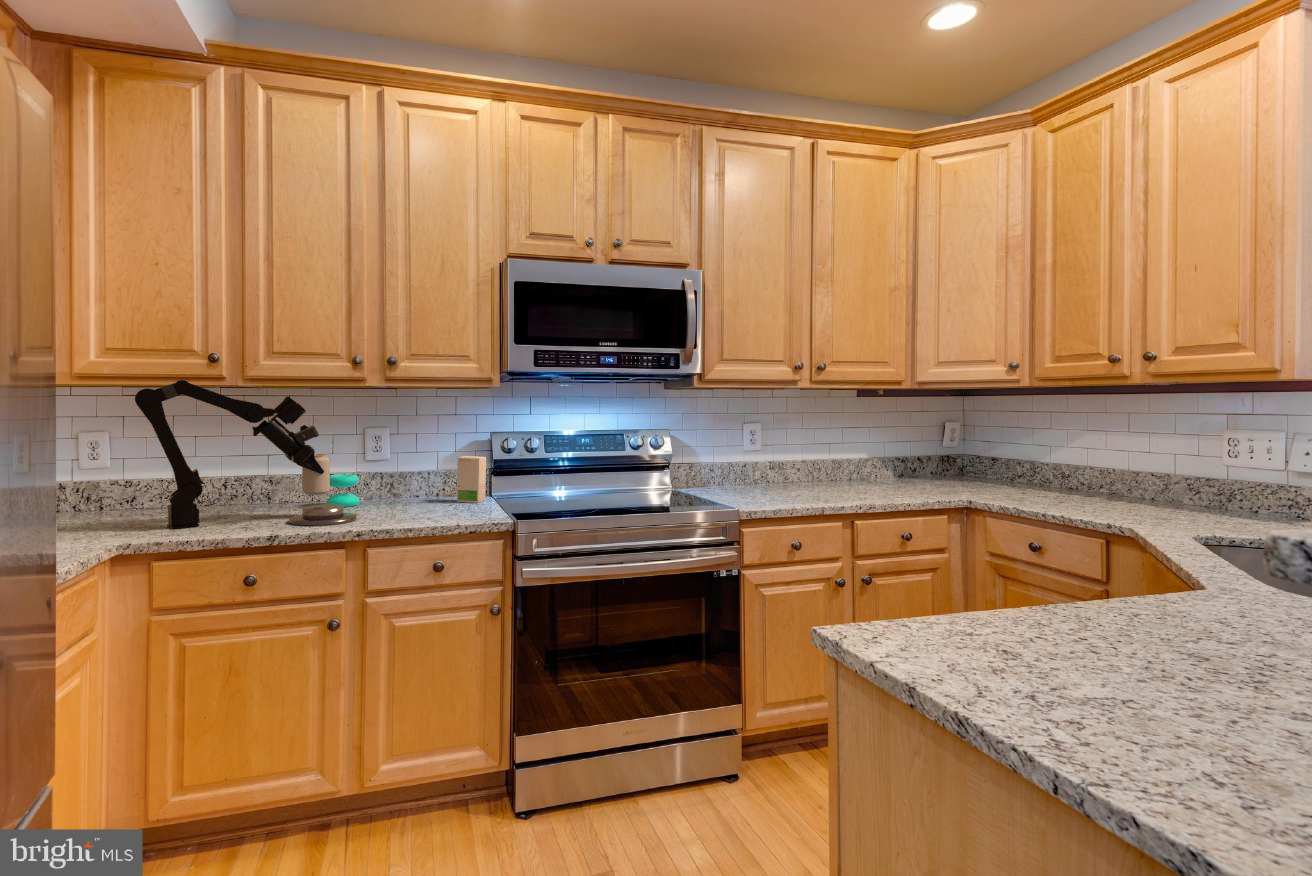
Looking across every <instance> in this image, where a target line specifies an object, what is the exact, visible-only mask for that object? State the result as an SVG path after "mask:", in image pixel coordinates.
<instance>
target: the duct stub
mask: <svg viewBox="0 0 1312 876" xmlns="http://www.w3.org/2000/svg"><path fill="white" fill-rule="evenodd" d="M344 508H345V507H343V505H338V504H327V503H324V504H312V505H307V506H303V507H302V508H301V510H302V511H301V512H302V513H301V514H299V515H295V516H291V517H289V519H288V524H289V525H292V526H296V527H298V526H299V527H322V526H323V527H326V526H337V525H343V524H348V523H352V522H355V521H356V520H357V514H355V513H351V512H345V511H344V510H345V509H344Z"/></svg>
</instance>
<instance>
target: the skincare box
mask: <svg viewBox="0 0 1312 876" xmlns="http://www.w3.org/2000/svg"><path fill="white" fill-rule="evenodd" d="M456 467H457V468H456V469H457V470H456V471H457V475H456V502H457V503H468V504H469V503H471V504H479V503H482V501H483V502H485V501H486V484H487V483H486V482H487V481H486V480H487V477H486V476H487V457H486V456H476V455H475V456H474V455H473V456H472V455H462V456H457V466H456Z"/></svg>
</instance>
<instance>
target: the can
mask: <svg viewBox="0 0 1312 876" xmlns="http://www.w3.org/2000/svg"><path fill="white" fill-rule="evenodd" d="M314 458H315V459H316V461H317V462H318V463H319V465H320V466H321V468H322V469H323V470H324V473H323V474H320V473H317V472H314V471H312V470H309V469H306V468H304V467H301V473H302V474H301V475H302V481H301V482H302V492H303V493H304V494H305V495H307V496H321V495H326V494H328V493H329V492H330V490H331V486H330V476H331V475H330V474H331V473H330V468H331V467H330V459H329V458H328V454H326V453H314Z"/></svg>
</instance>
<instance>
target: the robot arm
mask: <svg viewBox="0 0 1312 876" xmlns="http://www.w3.org/2000/svg"><path fill="white" fill-rule="evenodd" d="M181 395H183V396H187V397H189V398H192V399H193V400H194V399H195V400H198V401H201V402H203V403H206V404H209V405H211V406H214V407H217V408H220V409H223V410H226V411H227V412H230V413H231V414H233V415H235V416H237V417H239V418H240V419H243V420H244V421H246V422H249V424H251V423H252V424H256V423H259V424H258V425H257V426H252V427H251V429H252V436H254V437H258V435H259V434H261V435H263V436H264V437H265V438H266V439H267V440H268V441H270V443H272V444H273V445H274V446H275V447H276V448H278V450H280V451H281V452H282V453H283V454H284V457H285V458H286V459H288V460H289V461H290V462H292V463H294V464H296V465H297V466H299V467H301V468H302V467H304V468H306V469H309V470H312V471H314V472H317V473H320V474H323V473H324V470H323V469H322V468H321V466H320V465H319V463H318V462H317V461H316V459H315V458H314V454H316V453H315V452H316V451H315V449H314V448H313V447H312V446H311V445H310V444H306V443H307V441H309V440H312V439H313V438H317V437H319V436H320V434H319V432H318V431H317V428H316V426H315V425H310V426H307V425H306V424H303V425H301V426H299V431H297V432H295V433H294V431H290V430H289V429H288V428H287V427H286V426H287V425H289V424H290V425H293V424H294V423H295V422H297V421H298V420H299V419H300V418H301V417H302V416H304V414H305V413H306V412H307V411H306V409H305V408H304V407H303V406H302V405H301V404H300V403H299V402H296V401H295V400H294V399H293V398H291V397H290V395H289V396H288V395H287V396H285V397H284V398H283V400H282V401H281V402H280V403H279V404H278V405H276V407H274V408H272V407H267V408H266V407H264V406H262V405H261V404H260V403H256V402H251V401H246V400H242V399H241V400H240V399H235V398H231V397H229V396H226V395H223V394H221V393H218V392H215V391H212V390H210V389H206V388H204V387H201V386H199V385H196V384H193V383H190V382H189V381H187V380H185V379H180V380H178V381H175V382H174V383H170V384H168V385H165V386H161V387H159V388H156V389H153V388H142V389H139V391H138V392H136V395H135V396H134V401H135V404H136V405H137V407H138V408H139V409H140V412H142V414H143V415H144V416H145V418H146V419H147V420H148V421H149V423H150V424H151V426H152V428H153V431H154V433H155V435H156V437H157V439H158V441H159V443H160V445H161V447H162V449H163V451H164V454H165V456H166V457H167V460H168V461H169V465H170V467H171V468H172V471H173V475H174V480H175V483H176V486H177V487H176V488H177V489H176V490H175V491H173V492H172V494H170V495H169V502H170V504H167V517H168V518H167V519H168V520H167V521H168V523H166V524H165V525H166V527H167V528H170V529H171V530H174V529H183V528H184V529H185V528H192V527H193V528H194V527H199V526H200V508H199V507H197V506H198V505H197V503H196V502H195V500H196V499H198V498H199V497H201V495H202V494H203V490H204V489H203V485H204V484H205V482H204V480H203V479H202V478H201V477H200V474H199V470H198V468H195V469H192V468H191V467H190V466H189V464H188V462H187V460H186V459H185V457H184V455H183V452H182V451H181V448H180V446H179V444H178V441H177V439H176V437H175V435H174V433H173V431H172V429H171V427H170V424H169V423H168V420H167V418H166V413H165V409H164V405H163V402H165V401H168V400H171V399H173V398H176V397H179V396H181ZM270 417H271V418H270ZM264 418H270V419H269V420H268V421H267V420H265V419H264ZM277 419H278V420H277ZM279 420H280V421H281V422H282V423H283V424H284V425H285V426H284V425H283V424H282V423H281V422H280V421H279Z"/></svg>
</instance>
